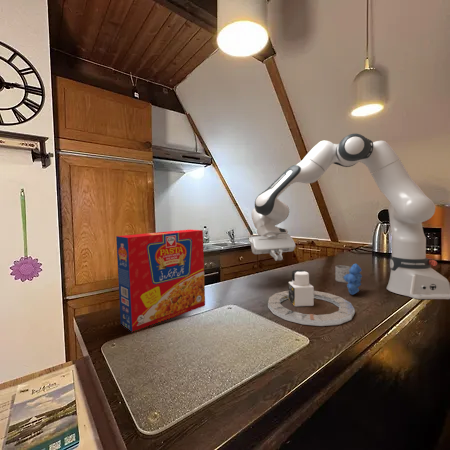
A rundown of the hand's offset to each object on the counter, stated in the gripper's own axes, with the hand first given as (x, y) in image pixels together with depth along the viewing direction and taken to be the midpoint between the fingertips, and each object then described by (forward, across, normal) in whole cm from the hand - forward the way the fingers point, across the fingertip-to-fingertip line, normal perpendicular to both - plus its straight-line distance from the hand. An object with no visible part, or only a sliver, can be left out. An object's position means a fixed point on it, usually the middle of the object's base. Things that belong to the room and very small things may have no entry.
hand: (279, 259), depth 107 cm
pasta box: (+15, -48, +4) cm, 51 cm away
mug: (+7, +36, +12) cm, 39 cm away
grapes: (+19, +25, 0) cm, 32 cm away
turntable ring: (+24, 0, -5) cm, 24 cm away
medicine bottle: (+20, 0, -1) cm, 21 cm away
